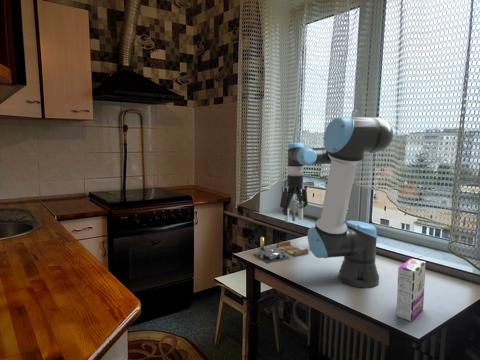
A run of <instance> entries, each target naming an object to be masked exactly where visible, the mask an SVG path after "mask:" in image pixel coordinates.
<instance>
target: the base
mask: <svg viewBox="0 0 480 360" xmlns="http://www.w3.org/2000/svg"><path fill="white" fill-rule="evenodd" d="M253 256H254V257H256V258H258V259H259V260H261V261H263V262H265V263H266V264H271V263H276V262H279V261H280V262H281V261H285V260H290V256H289V255H286V254H285V256H283V258H274V259H270V258H261V257H260V255H258V252H255V253H253Z"/></svg>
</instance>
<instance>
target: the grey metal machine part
mask: <svg viewBox="0 0 480 360" xmlns="http://www.w3.org/2000/svg"><path fill="white" fill-rule="evenodd" d="M259 239H260V240H259V241H260V242H259V243H260V249H257V253H258V255H260V257H261V258H270V259H274V258H283V256H285V255H286V252H285V251H282V248H277V247H274V246H268V247H265V237H264V236H260V238H259Z"/></svg>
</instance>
